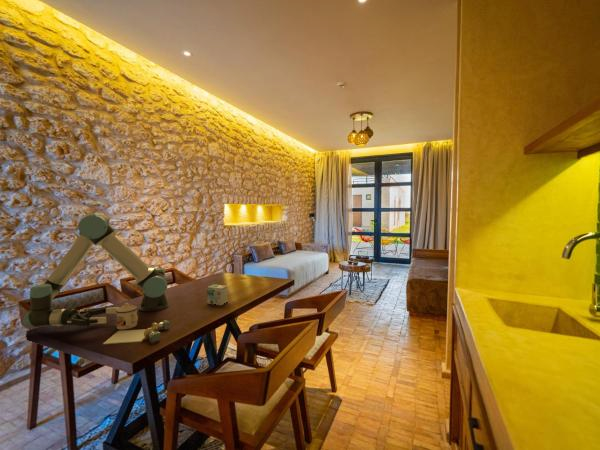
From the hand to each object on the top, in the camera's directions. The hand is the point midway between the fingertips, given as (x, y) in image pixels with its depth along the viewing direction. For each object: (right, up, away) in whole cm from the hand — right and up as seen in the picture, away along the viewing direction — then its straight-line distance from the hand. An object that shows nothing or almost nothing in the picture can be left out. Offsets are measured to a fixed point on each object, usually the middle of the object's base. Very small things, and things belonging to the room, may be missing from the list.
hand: (113, 314), depth 136 cm
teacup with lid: (+7, -7, +2) cm, 10 cm away
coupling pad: (+13, -7, -10) cm, 18 cm away
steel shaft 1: (+26, -7, -13) cm, 30 cm away
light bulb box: (+39, -5, +39) cm, 56 cm away
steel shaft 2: (+24, -7, -2) cm, 25 cm away
